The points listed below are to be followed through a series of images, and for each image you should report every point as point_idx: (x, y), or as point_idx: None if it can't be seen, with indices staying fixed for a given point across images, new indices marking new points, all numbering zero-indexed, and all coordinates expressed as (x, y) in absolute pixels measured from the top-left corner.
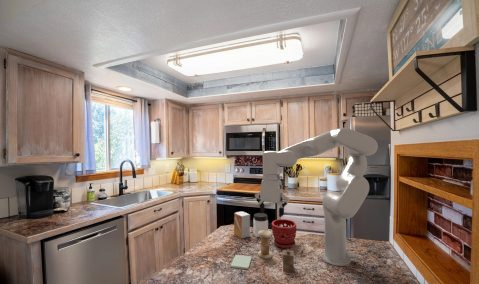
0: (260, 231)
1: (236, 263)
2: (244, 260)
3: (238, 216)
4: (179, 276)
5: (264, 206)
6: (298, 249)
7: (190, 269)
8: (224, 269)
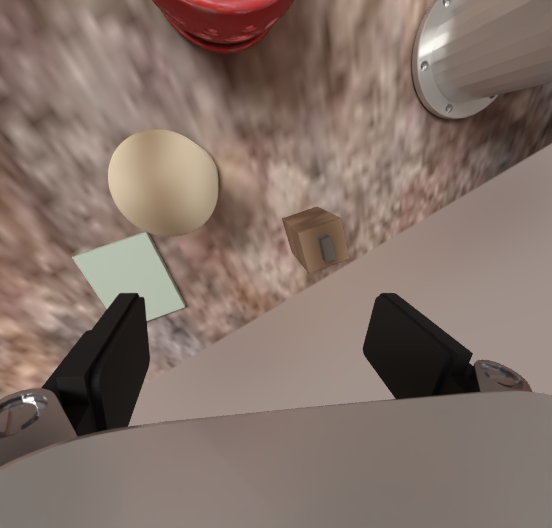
0: (122, 179)
1: None
2: (141, 276)
3: None
4: None
5: (116, 340)
6: (306, 17)
7: None
8: None
